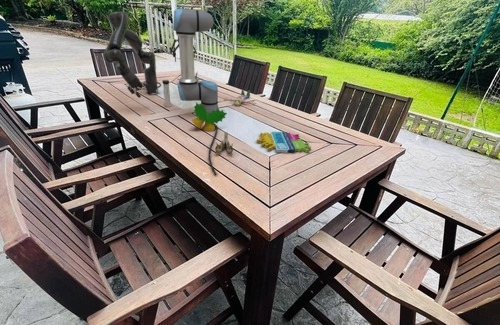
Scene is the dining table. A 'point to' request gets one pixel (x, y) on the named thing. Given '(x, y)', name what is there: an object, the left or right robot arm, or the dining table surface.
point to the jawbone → (224, 145)
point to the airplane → (195, 78)
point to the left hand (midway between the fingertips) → (145, 95)
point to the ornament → (207, 117)
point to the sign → (283, 142)
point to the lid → (165, 81)
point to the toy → (241, 99)
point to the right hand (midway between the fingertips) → (184, 61)
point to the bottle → (166, 94)
